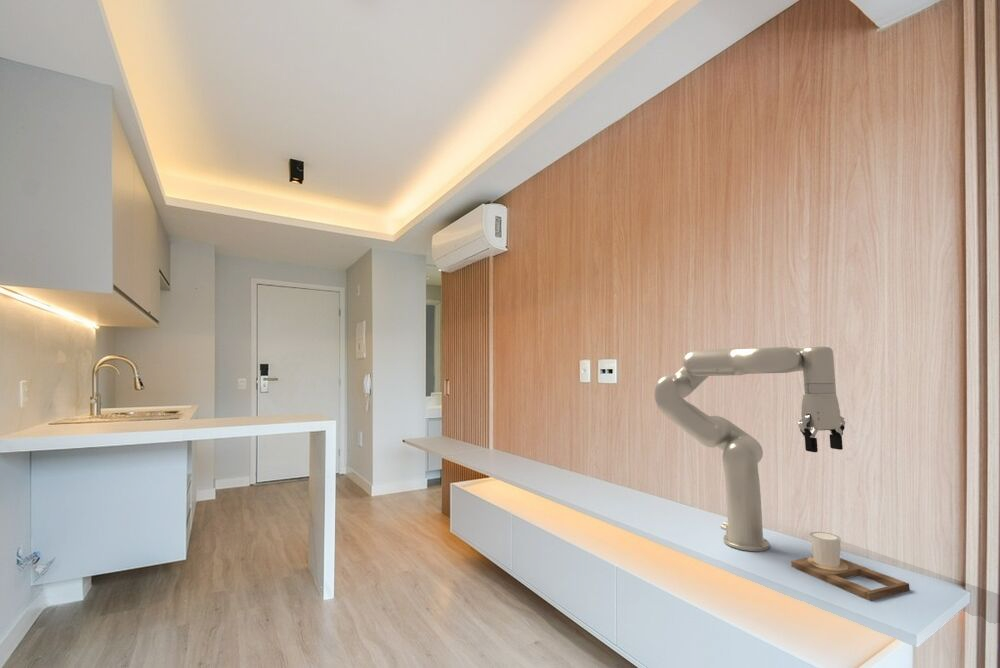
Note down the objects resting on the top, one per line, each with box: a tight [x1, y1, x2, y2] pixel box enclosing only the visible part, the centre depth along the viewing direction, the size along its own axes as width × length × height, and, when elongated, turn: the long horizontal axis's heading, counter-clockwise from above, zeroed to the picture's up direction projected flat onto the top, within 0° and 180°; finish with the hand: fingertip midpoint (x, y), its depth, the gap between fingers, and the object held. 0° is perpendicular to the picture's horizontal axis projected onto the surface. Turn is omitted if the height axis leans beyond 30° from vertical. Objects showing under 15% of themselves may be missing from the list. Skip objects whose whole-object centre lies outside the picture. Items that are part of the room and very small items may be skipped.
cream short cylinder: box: [809, 531, 841, 567], centre depth 126 cm, size 7×7×7 cm
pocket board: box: [790, 556, 911, 601], centre depth 121 cm, size 20×14×2 cm
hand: (824, 450), depth 133 cm, fingers open, 9 cm apart
